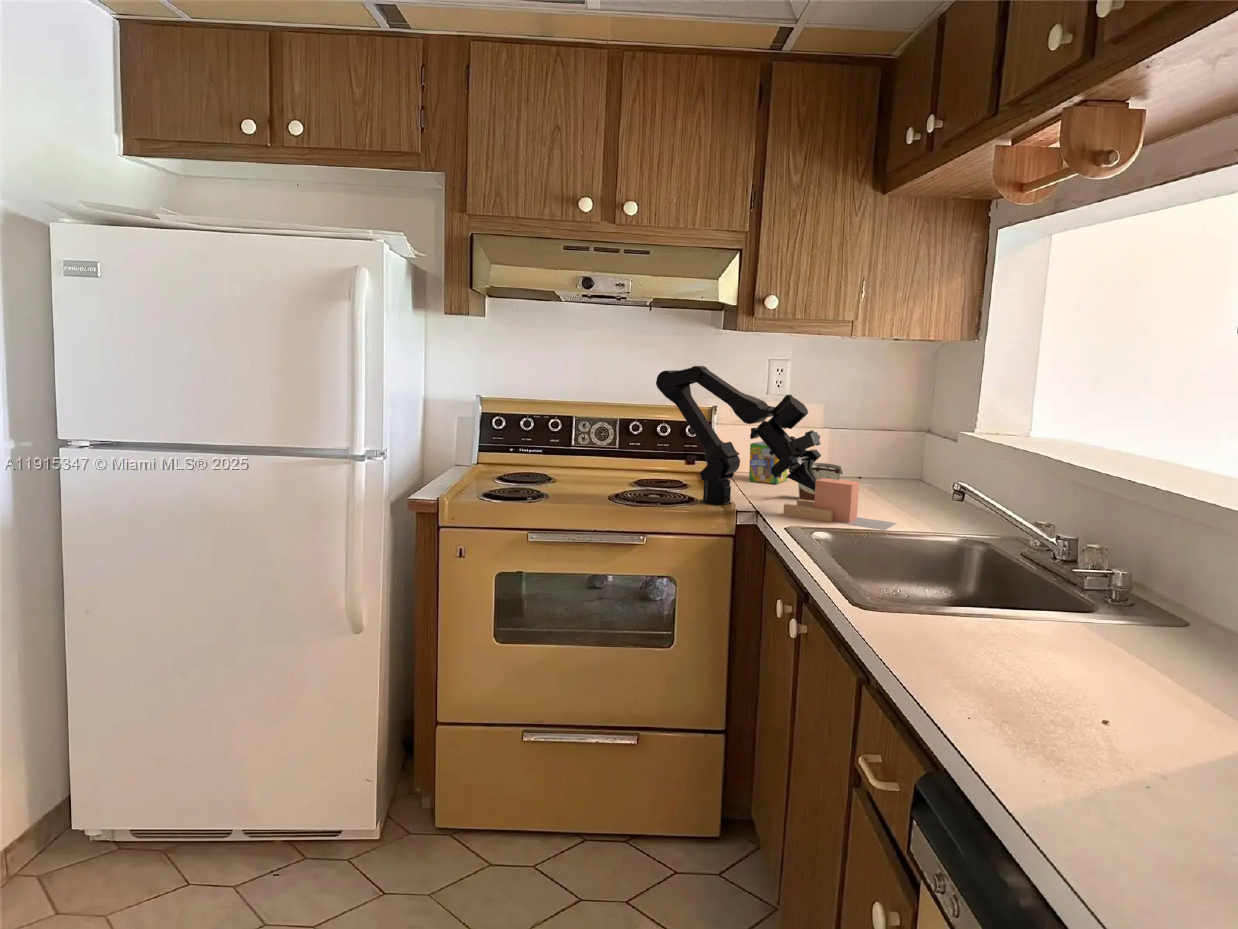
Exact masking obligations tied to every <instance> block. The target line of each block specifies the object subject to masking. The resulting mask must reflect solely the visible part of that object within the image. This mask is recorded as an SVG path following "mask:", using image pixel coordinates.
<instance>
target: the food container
mask: <svg viewBox="0 0 1238 929" xmlns="http://www.w3.org/2000/svg"><path fill="white" fill-rule="evenodd" d="M812 470H813V473H814V476H815V478H816V480H819V479H822V478H828V479H836V480H840V477H841V475H843V469H842V466H840V465H838V464H834V463H833V464H832V463H825V462H824V463H823V462H814V463H813V465H812ZM797 485H798V499H803V500H810V501H814V499H815V491H814V490H812V489H810V488H808V487H806V486H804V485H802V484H800V483H798V482H797Z"/></svg>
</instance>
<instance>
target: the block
mask: <svg viewBox="0 0 1238 929" xmlns="http://www.w3.org/2000/svg"><path fill="white" fill-rule="evenodd" d="M859 490H860V482H858V481H850V480H843V479H839V480H836V479H828V478H822V479H819V480H816V484H815V499H814V508H820V509H827V510H833V520H836V521H843V522H852V521H854V520H856V519H857V517H858V508H859V507H858V505H859V503H858V502H859Z"/></svg>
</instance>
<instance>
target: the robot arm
mask: <svg viewBox="0 0 1238 929" xmlns="http://www.w3.org/2000/svg"><path fill="white" fill-rule="evenodd" d="M696 383H697V384H698V385H699V386H701V387H702V388H703V389H706V390H707V391H708V392H710V393H711V394H712V395H714V396H716V397H717V398H718V399H720V400H721V401H722V402H724V403H725V404H727V405H728V406H729V407H730V408H731V410H732V411H733V413H734V414H735V415H736V416H737V417H738V419H740V420H741V422H743V423H745V424H747V425H752V424H758V423H760V424H759V425H757V427H751V428H750V435H749V439H751V440H755V439H758V438H760V440H762V442H764V443H765V444H766V445H767V446H768V448H769V449H770V450H771V451H770V452H769V454H770V455H771V456H772V455H775V456H776V458H777V459H778V460H779V461H778V462H777V463H776V464H775V465H774V466H773V467H771V474H772V475H773V476H774V478H775V479H777V478H780V477H781V474H782V473H783V472H784V471H785V470H786V469H787V470H788V473H789V474H787V479H789V480H791V481H794V482H796V483H797V484H798V483H800V484H802V485H804V486H806V487H808V488H810V489H812V490H814V491H815V484H816V478H815V476H814V473H813V470H812V465H813V463H816V461H818V459H819V458H821V456H822V454H821V453H820V452H819V451H818V450H817V449H813V447H814V446H820V445H821V441H820V439H821V435H819V433H818V432H817V431H816V432H815V431H814V430H813V429H812V430H809V431H805V433H804V435H802V436H800V437H797V438H796V437H795V436H792V435H791V436H790V435H789V434H788V433H787V432H786V431H785V430H786V429H789V430H793V428H794V427H795V426H797V424H798V423H800V421H802V420H803V419H804V418H805V417H806V416H807V415H808V414H809V410H808V408H807V406H806V405H805V404H804V403H803V402H801V401H800V400H798V399H797V398H795V397H794V395H792V394H787V395H785V396H784V397H783V399H782V400H781V401H780V402H779V403H778V404H777V405H776V406H771V405H768V403H767V402H765V401H764V400H762V399H760V398H757V397H756V396H753V395H750V394H747V393H744V392H742V391H740V390H739V389H737V388H736V387H734V386H733V385H731V384H730V383H728V382H727V381H725V380H724V379H723V378H721V377H720V376H718V375H716V374H715V373H714V372H712V371H711V370H709V368H707V366H704V365H694V366H691V367H687V368H685V369H680V370H678V369H677V370H675V369H673V370H663V371H661V372H659V373H658V375H657V377H656V382H655V385H656V387H657V390H659V391H660V392H661V394H662V395H663V396H664V397H665V398H666V399H668V400H669V401H670V402H672V403H673V404H675V406H676V407H677V409H678V410H679V412H680V413H681V415H682V416H683V418H684V420H685V421H686V422H687V424H688V425H689V428H690V429H691V431H692V432H693V433H694V435H695V436H696V439H698V442H699V443H700V444H701V446H702V447H703V450H704V457H705V461H706V464H707V465H706V466H705V467H704V468H703V469H702V470H701V471H699V475H700V479H701V480H702V481H703V494H702V497H703V498H701V499H699V500H698V501H699V503H705V504H708V505H714V506H722V505H727V504H726V503H728V502H729V501H730V500H731V495H732V494H731V493H732V490H731V489H732V487H731V479H733V477H734V476H735V473H736V472H737V471H738V470H739V467H740V464H741V458H740V456H739V455H740V452H738V451H737V450H736V448H735V447H734V444H733V443H732V442H731V441H728V442H727V441H726V442H724V441H722V439H720V437H719V436H718V434H717V433H716V431H715V430H714V428H713V427H712V425H711V424H710V422H709V420H708V419H707V418H706V416H705V414H704V412H702V410H701V409H700V406H699V405H698V404H697V402H696V401H695V399H694V398H693V396H692V391H691V385H693V384H696ZM769 417H771V418H770V419H769V420H768V421H767V418H769ZM809 448H812V449H809ZM808 449H809V450H808Z"/></svg>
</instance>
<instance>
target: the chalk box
mask: <svg viewBox="0 0 1238 929" xmlns="http://www.w3.org/2000/svg"><path fill="white" fill-rule="evenodd" d="M749 445H750V446H749V468H748V469H749V474H748V481H749V480H750V481H756V482H755V483H764V484H773V483H774V484H775V485H777V483H778V484H780V483H784V482H786V481H787V479H788V478H787V476H788V469H786V470H785V471H784V472H783V473H782V474H781V477H780V478H777V479H775V478H774V476H773V475H772V474H771V467H773V466H774V465H775V464H776V463H777V462H778V461H779V460H778V459H777V458H776V456H775V455H772V456H771V455H770V454H769V452H770V451H771V450H770V449H769V448H768V446H767V445H766V444H765V443H764V442H763V441H756V442H752V443H750V444H749ZM750 481H749V482H750Z"/></svg>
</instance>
